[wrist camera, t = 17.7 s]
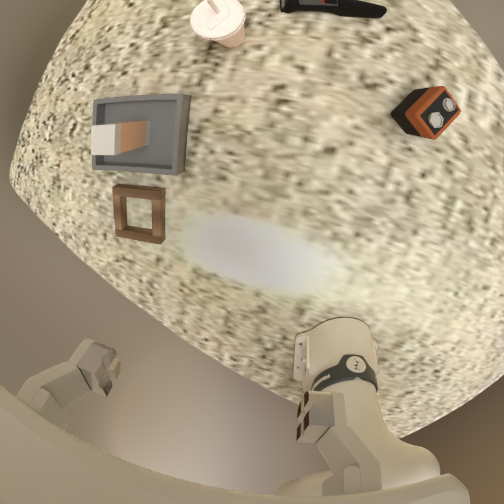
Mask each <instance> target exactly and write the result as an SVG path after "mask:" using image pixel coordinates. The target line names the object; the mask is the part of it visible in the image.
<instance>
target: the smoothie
mask: <svg viewBox="0 0 504 504" xmlns="http://www.w3.org/2000/svg"><path fill="white" fill-rule="evenodd" d="M244 21H245V11H244V8H243V7H242V5H241V4H240V3H239V2H238V1H237V0H204V1H203V2H201V3H200V4H199V5H197V6H196V8H195V9H194V10H193V12H192V14H191V19H190V22H191V26H192V28H193V30H194V31H195V32H196V34H197V35H199V36H200V37H202V38H204V39H207V40H214V41H216V42H218V43H220V44H222V45H224V46H226V47H230V48H233V47H237V46H239V45H240V44H242V43H243V41H244V39H245V32H244Z"/></svg>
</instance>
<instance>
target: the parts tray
mask: <svg viewBox="0 0 504 504" xmlns="http://www.w3.org/2000/svg"><path fill="white" fill-rule="evenodd" d="M190 102H191V96H189V95H184V94H162V95H139V96H125V97H115V98H105V99H97V100H94V104H93V122H92V126H93V125H100V124H107V123H114V122H122V121H138V120H151V128H150V145H147V146H144V147H140V148H137V149H133V150H130V151H126V152H123V153H120V154H117V155H92V170H112V171H129V172H144V173H156V174H167V175H178V174H180V173H181V172H183V171H185V158H186V144H187V132H188V121H189V111H190Z"/></svg>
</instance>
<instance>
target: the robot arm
mask: <svg viewBox="0 0 504 504" xmlns="http://www.w3.org/2000/svg"><path fill="white" fill-rule="evenodd" d="M377 349H378V343H377V341H376V340H375V339H373V338H372V335H371V331H370V329H369V327H368V326H367V325H366V324H365V323H363V322H362V321H360V320H357V319H353V318H336V319H332V320H328V321H326V322H323V323H321V324H319V325H318V326H316V327H315V328H313V329H312V330H310V331H307V332H304V333H301V334H298V335H297V336H296V337H295V351H294V367H293V378H294V379H295V380H297V381H299V382H301V383H303V391H304V392H305V394H304V399H303V400H301V402H300V404H299V407H298V412H297V420H298V422H299V423H300V424H299V426H298V428H297V436H296V442H304V443H316V446H317V448H318V449H319V451H320V453H321V454H322V456H323V457H324V459H325V461H326V463H327V464H328V466H329V468H330V469H331V470H328V471H323V472H318V473H313V474H308V475H306V476H303V477H300V478H297V479H294V480H291V481H289V482H286V483H284V484H282V485H281V486H280V487H279V488H278V489H277V491H276V493H275V494H274V495H267V494H257V493H248V492H240V491H233V490H227V489H221V488H216V487H211V486H206V485H201V484H197V483H193V482H189V481H185V480H181V479H178V478H174V477H171V476H167V475H164V474H161V473H158V472H155V471H152V470H149V469H146V468H143V467H140V466H137V465H135V464H132V463H130V462H127V461H125V460H122V459H120V458H118V457H115V456H113V455H111V454H108V453H106V452H104V451H102V450H100V449H98V448H96V447H94V446H92V445H90V444H88V443H86V442H84V441H82V440H80V439H78V438H76V437H75V436H73V435H71V434H69V433H67V432H66V431H64V430H65V428H66V426H67V424H68V422H69V417H68V416H67V415H66V413H65V412H64V411H63V410H65V409H66V408H68V407H69V406H71V405H72V404H74V403H75V402H77V401H79V400H80V399H81V398H83V397H84V396H86V395H88V394H89V393H91V391H93V392H95V393H98V394H100V395H103V396H105V397H107V396H108V394H109V392H110V390H111V388H112V381H113V380H115V379H117V377H118V375H119V372H120V361H119V360H118V358H117V357H116V354H117V353H116V350H115V349H113V348H111V347H108V346H106V345H103V344H100V343H97V342H96V341H93V340H90V339H88V338H86V339H84V340H83V341H82V342H81V344H80V345H79V346H78V348H77V349H76V351H75V352H74V353H73V355H72V356H71V358H70V359H69V361H68V362H62V363H60V364H58V365H56V366H54V367H51V368H49V369H47V370H45V371H43V372H41V373H38V374H36V375H34V376H32V377H30V378H28V379H27V381H26V382H25V384H24V385H23V387H22V388H21V390H20V391H19V392H18V394H17V395H16V397H14V396H13V395H12V394H11V393H9V392H8V391H7V390H6V389H4V388H3V387H2V386H1V385H0V504H470V498H469V493H468V490H467V488H466V487H465V486H464V485H463V484H462V483H461V482H460V481H459V480H458V479H456V478H455V477H454V476H453V475H451V474H444V475H440V467H439V464H438V461H437V459H436V458H435V456H434V455H433V454H432V453H431V452H430V451H428V450H427V449H425V448H422V447H419V446H414V445H410V444H407V443H405V442H403V441H401V440H399V439H398V438H396V437H395V436H394V435H393V434H392V433H391V432H390V431H389V429H388V428H387V426H386V425H385V423H384V420H383V417H382V414H381V410H380V406H379V402H378V398H377V391H378V386H377V384H378V383H377V378H376V375H375V374H376V373H377V372H378V366H377V359H376V352H375V351H376V350H377Z"/></svg>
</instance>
